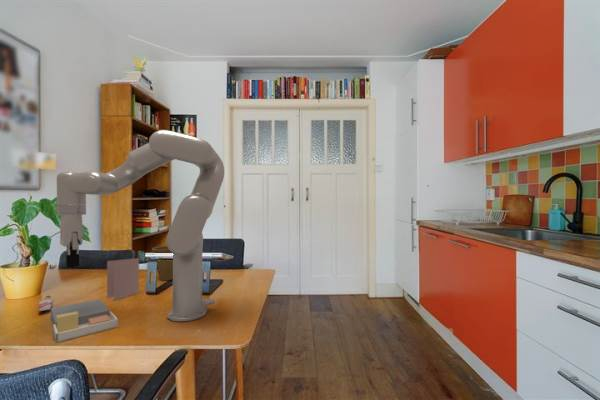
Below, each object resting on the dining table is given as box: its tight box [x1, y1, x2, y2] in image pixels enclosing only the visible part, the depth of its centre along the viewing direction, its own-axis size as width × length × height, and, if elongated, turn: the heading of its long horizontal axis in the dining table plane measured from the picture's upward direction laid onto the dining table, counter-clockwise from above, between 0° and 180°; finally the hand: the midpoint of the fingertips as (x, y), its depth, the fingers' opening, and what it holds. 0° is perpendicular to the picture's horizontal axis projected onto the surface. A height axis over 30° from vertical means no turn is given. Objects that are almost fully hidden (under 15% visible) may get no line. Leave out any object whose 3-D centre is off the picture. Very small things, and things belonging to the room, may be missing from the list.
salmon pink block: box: [88, 315, 111, 326], centre depth 92 cm, size 5×5×2 cm
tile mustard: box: [56, 311, 78, 333], centre depth 89 cm, size 5×5×2 cm
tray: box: [52, 311, 119, 344], centre depth 91 cm, size 15×9×2 cm, turn 134°
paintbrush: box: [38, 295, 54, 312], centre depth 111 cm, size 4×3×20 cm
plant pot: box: [152, 245, 173, 282], centre depth 151 cm, size 15×15×16 cm
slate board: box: [50, 298, 111, 327], centre depth 100 cm, size 14×16×3 cm
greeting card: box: [106, 257, 140, 302], centre depth 122 cm, size 11×7×15 cm, turn 125°
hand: (72, 266), depth 97 cm, fingers closed
